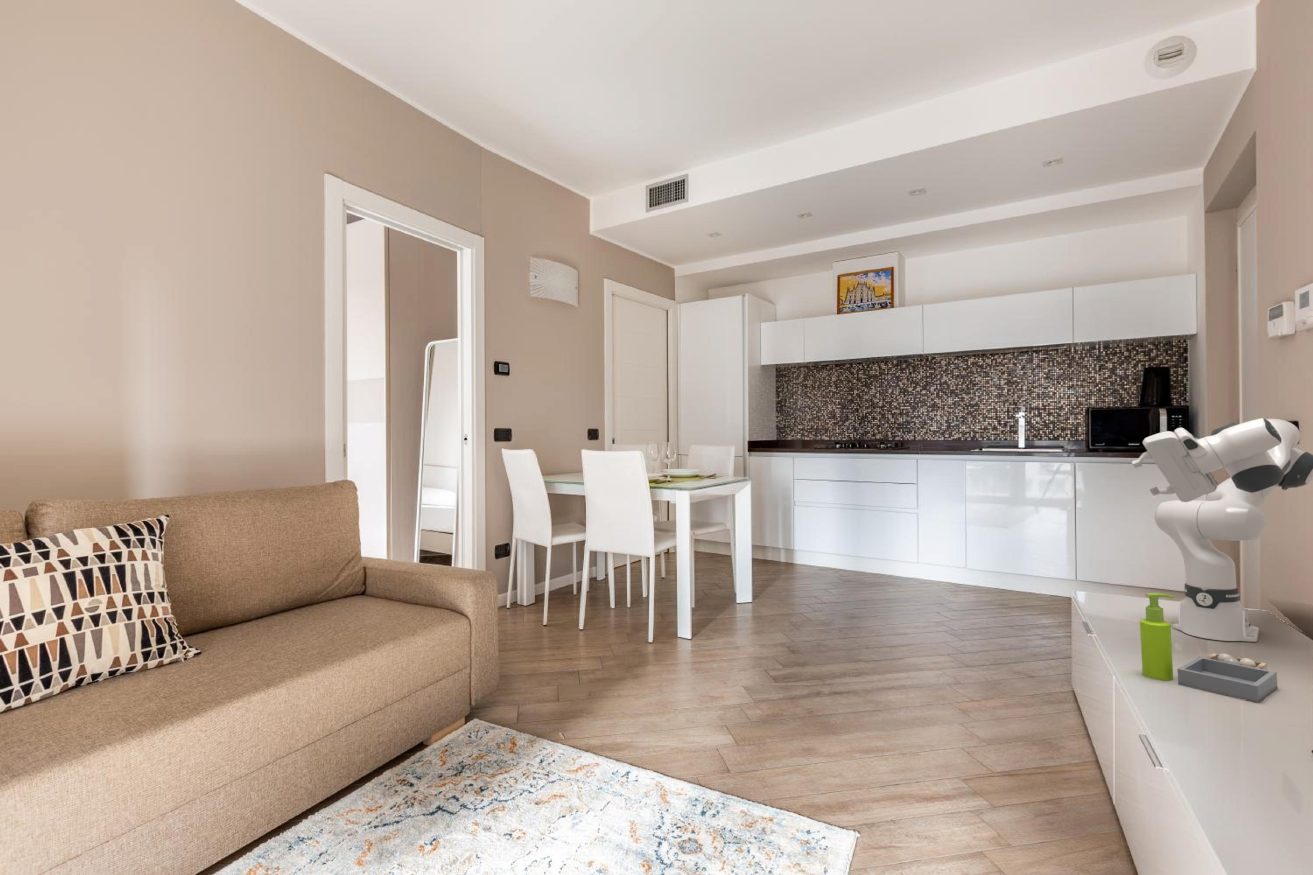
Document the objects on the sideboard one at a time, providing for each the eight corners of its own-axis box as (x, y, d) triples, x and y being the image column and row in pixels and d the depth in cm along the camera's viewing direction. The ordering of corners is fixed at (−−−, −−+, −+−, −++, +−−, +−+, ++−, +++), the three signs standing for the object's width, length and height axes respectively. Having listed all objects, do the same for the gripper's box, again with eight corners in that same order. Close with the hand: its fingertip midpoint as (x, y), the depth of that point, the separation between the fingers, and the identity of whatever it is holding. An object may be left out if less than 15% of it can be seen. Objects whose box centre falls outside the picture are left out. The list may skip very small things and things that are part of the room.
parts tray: (1214, 662, 161) (1213, 653, 161) (1267, 673, 153) (1266, 663, 153) (1202, 669, 157) (1202, 659, 157) (1256, 680, 149) (1256, 670, 149)
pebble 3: (1241, 667, 156) (1241, 655, 156) (1258, 671, 153) (1257, 658, 153) (1237, 670, 154) (1237, 658, 154) (1254, 673, 151) (1253, 661, 151)
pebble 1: (1219, 662, 159) (1219, 650, 160) (1235, 665, 157) (1234, 653, 157) (1215, 665, 158) (1215, 653, 158) (1231, 668, 155) (1230, 656, 155)
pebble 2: (1226, 667, 156) (1225, 655, 156) (1242, 670, 154) (1241, 658, 154) (1222, 669, 155) (1221, 657, 155) (1238, 673, 152) (1237, 660, 152)
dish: (1199, 671, 156) (1199, 656, 156) (1277, 687, 144) (1276, 671, 144) (1178, 684, 148) (1177, 668, 148) (1258, 702, 136) (1257, 686, 137)
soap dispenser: (1183, 680, 150) (1179, 596, 150) (1150, 679, 151) (1146, 596, 152) (1169, 672, 156) (1165, 591, 156) (1137, 671, 157) (1133, 590, 158)
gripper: (1217, 484, 171) (1159, 504, 179) (1177, 422, 170) (1120, 445, 178) (1225, 493, 166) (1165, 514, 173) (1183, 430, 165) (1125, 453, 172)
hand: (1142, 478), depth 175 cm, fingers open, 8 cm apart
